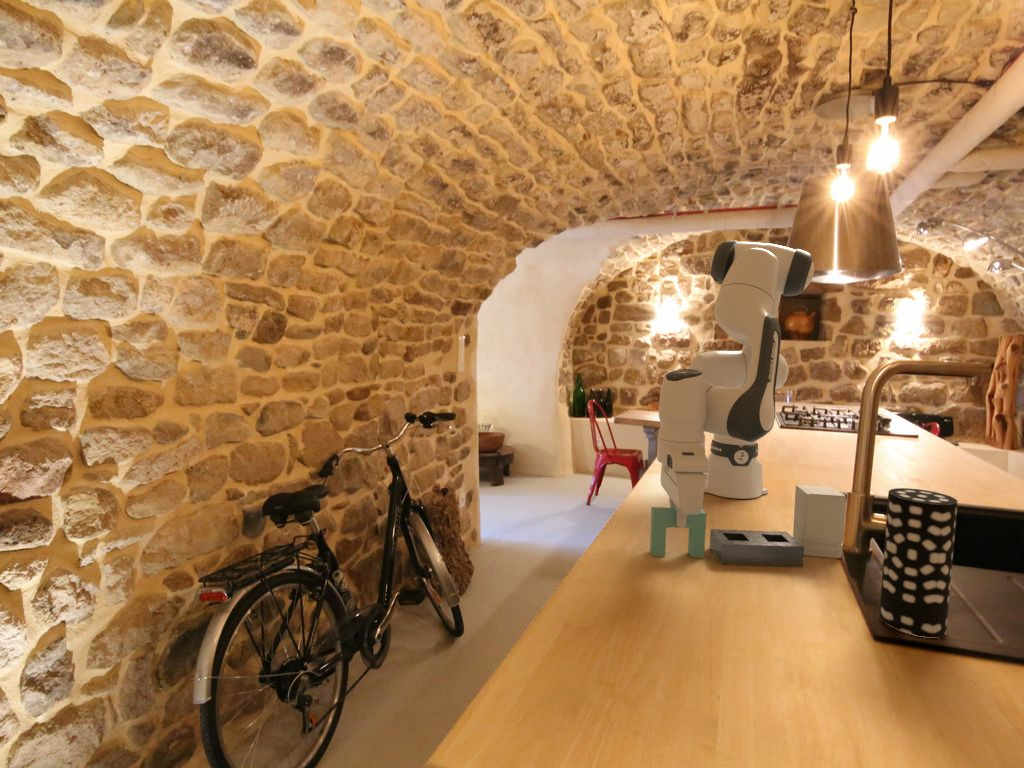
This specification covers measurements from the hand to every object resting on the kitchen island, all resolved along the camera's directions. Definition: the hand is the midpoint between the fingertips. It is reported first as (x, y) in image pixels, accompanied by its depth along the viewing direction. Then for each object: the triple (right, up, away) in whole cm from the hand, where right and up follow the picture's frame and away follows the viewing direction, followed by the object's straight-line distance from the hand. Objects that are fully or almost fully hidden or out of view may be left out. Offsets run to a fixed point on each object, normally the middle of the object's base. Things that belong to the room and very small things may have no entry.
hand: (678, 522), depth 111 cm
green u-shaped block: (0, -7, +1) cm, 7 cm away
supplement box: (+29, -7, +4) cm, 30 cm away
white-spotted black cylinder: (+28, -10, -25) cm, 39 cm away
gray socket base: (+15, -7, 0) cm, 16 cm away
